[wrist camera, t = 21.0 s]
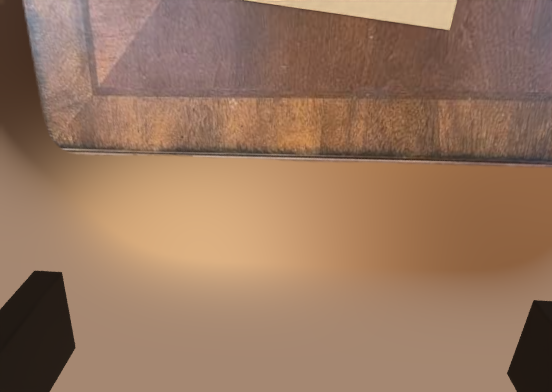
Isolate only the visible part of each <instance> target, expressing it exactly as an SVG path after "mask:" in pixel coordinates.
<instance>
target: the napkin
mask: <svg viewBox="0 0 552 392" xmlns="http://www.w3.org/2000/svg"><path fill="white" fill-rule="evenodd" d="M246 1H252V2H259V3H266V4H273V5H280V6H287V7H293V8H300V9H307V10H314V11H321V12H327V13H334V14H341V15H348V16H355V17H362V18H368V19H375V20H382V21H389V22H396V23H402V24H409V25H416V26H423V27H430V28H437V29H443V30H450V26H451V22H452V18H453V15H454V11H455V7H456V3H457V0H246Z"/></svg>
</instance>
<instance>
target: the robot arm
mask: <svg viewBox="0 0 552 392" xmlns="http://www.w3.org/2000/svg"><path fill="white" fill-rule="evenodd" d="M74 349H75V342H74V337H73V331H72V326H71V320H70V314H69V309H68V304H67V298H66V292H65V287H64V281H63V276H62V272H48V271H34V272H33V273H32V274H31V275H30V276H29V278H28V279H27V280H26V281H25V282H24V283H23V284H22V285H21V287H20V288H19V289H18V290H17V291H16V292H15V294H14V295H13V296H12V297H11V298H10V299H9V300H8V302H6V304H5V305H4V306H3V307H2V308H1V309H0V392H50V390H51V388H52V386H53V385H54V383H55V382H56V380H57V378H58V376H59V375H60V373H61V371H62V370H63V368H64V366H65V365H66V363H67V361H68V359H69V358H70V356H71V354H72V353H73V351H74ZM507 374H508V376H509V378H510V380H511V382H512V383H513V385H514V387H515V389H516V390H517V392H552V301H537V300H534V301H533V303H532V306H531V309H530V312H529V315H528V317H527V320H526V323H525V325H524V328H523V331H522V334H521V337H520V339H519V342H518V345H517V348H516V350H515V353H514V356H513V359H512V361H511V364H510V367H509V370H508V372H507Z"/></svg>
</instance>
